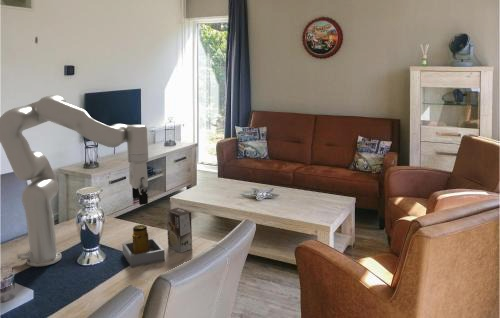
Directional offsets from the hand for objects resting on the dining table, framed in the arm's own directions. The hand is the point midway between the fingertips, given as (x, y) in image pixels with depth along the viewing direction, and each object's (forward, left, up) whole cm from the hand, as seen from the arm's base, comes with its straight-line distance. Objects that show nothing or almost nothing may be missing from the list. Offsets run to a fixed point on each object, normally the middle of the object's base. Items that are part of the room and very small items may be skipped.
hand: (140, 200), depth 178 cm
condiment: (0, -1, -23) cm, 23 cm away
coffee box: (+16, +2, -24) cm, 29 cm away
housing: (0, 0, -24) cm, 24 cm away
